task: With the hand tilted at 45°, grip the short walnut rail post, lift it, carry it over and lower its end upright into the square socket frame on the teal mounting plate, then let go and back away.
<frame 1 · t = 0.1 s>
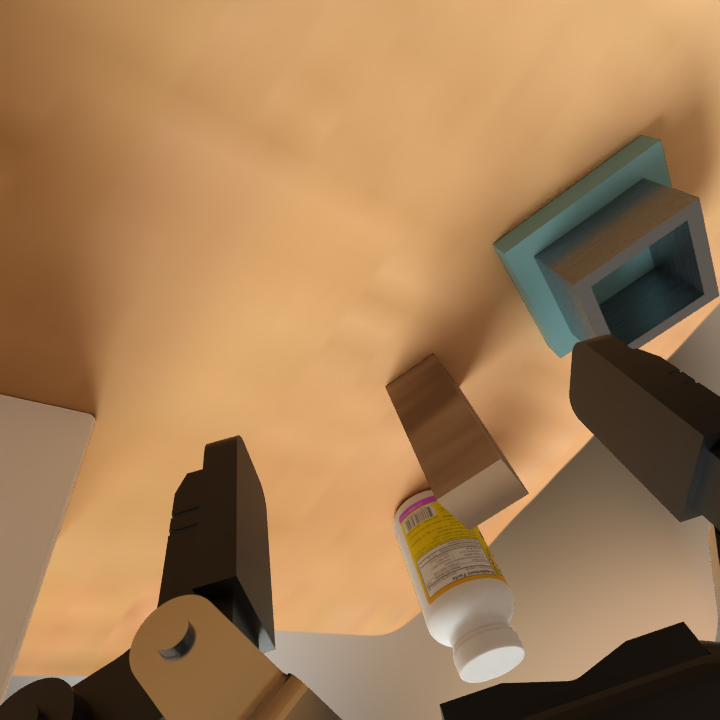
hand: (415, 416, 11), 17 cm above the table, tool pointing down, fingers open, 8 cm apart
mounting plate: (589, 253, 31), on the table
square socket frame: (589, 253, 31), resting on mounting plate
rail post: (423, 387, 34), on the table
supplement bottle: (426, 509, 43), on the table
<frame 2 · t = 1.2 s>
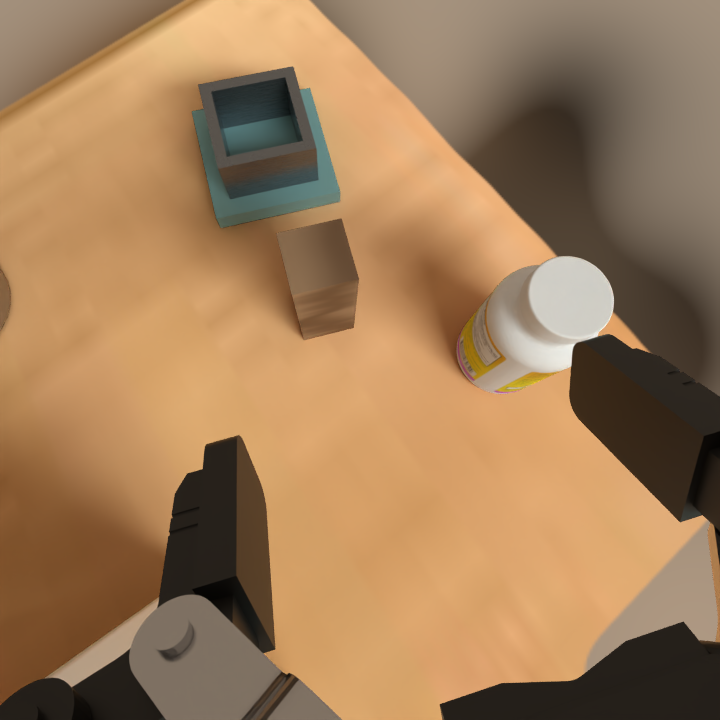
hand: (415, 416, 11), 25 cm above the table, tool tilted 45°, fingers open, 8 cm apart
mounting plate: (267, 162, 41), on the table
square socket frame: (267, 162, 41), resting on mounting plate
rail post: (322, 310, 38), on the table
supplement bottle: (494, 353, 38), on the table
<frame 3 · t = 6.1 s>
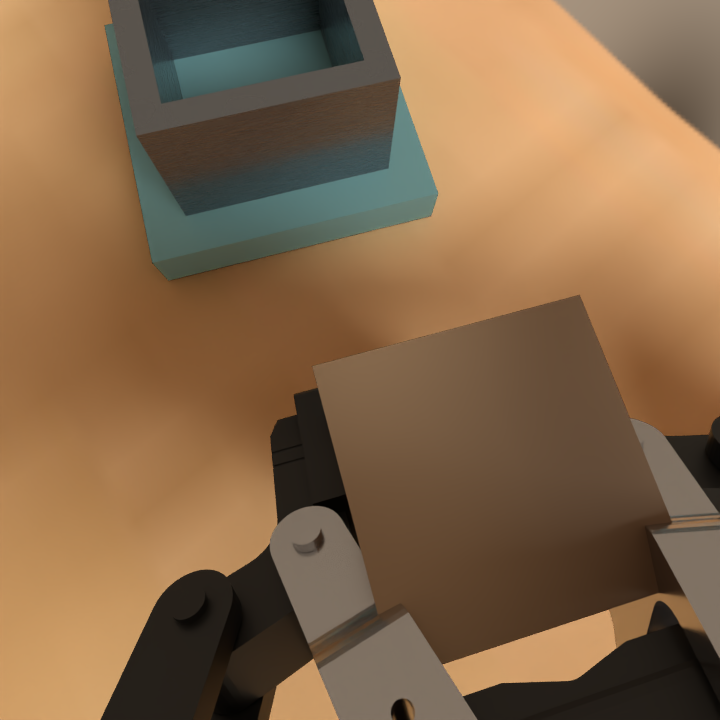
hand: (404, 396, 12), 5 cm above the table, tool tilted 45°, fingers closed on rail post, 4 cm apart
mounting plate: (271, 134, 19), on the table
square socket frame: (271, 134, 19), resting on mounting plate
rail post: (406, 473, 16), on the table, touching gripper
when the fingers open (7 cm above the table, at t = 11.9 s): rail post drops 1 cm, resting on mounting plate.
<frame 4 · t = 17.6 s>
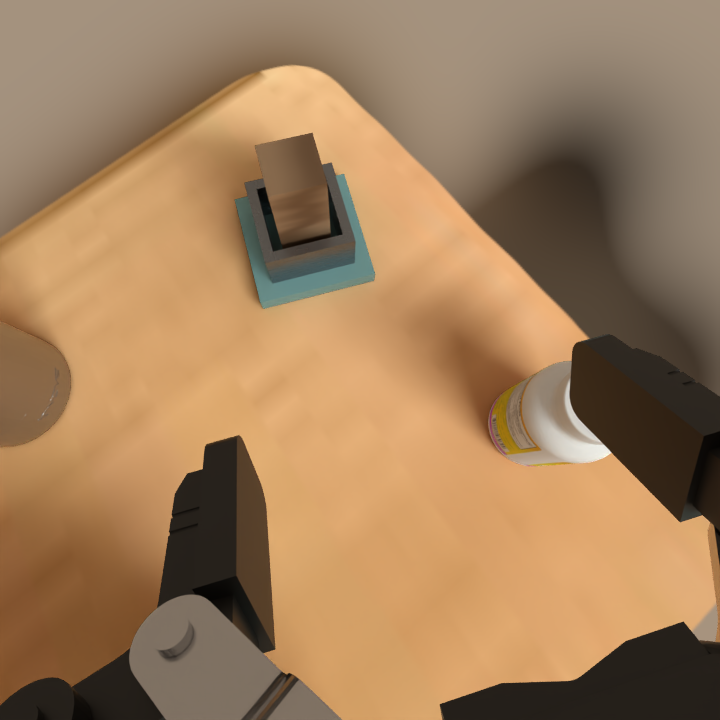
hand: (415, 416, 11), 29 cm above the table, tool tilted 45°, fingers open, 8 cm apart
mounting plate: (305, 244, 43), on the table
square socket frame: (305, 244, 43), resting on mounting plate
rail post: (303, 236, 42), point 1 cm above the table, touching mounting plate
supplement bottle: (524, 425, 40), on the table
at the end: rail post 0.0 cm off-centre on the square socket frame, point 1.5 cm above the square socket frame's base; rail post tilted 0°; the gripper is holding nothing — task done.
